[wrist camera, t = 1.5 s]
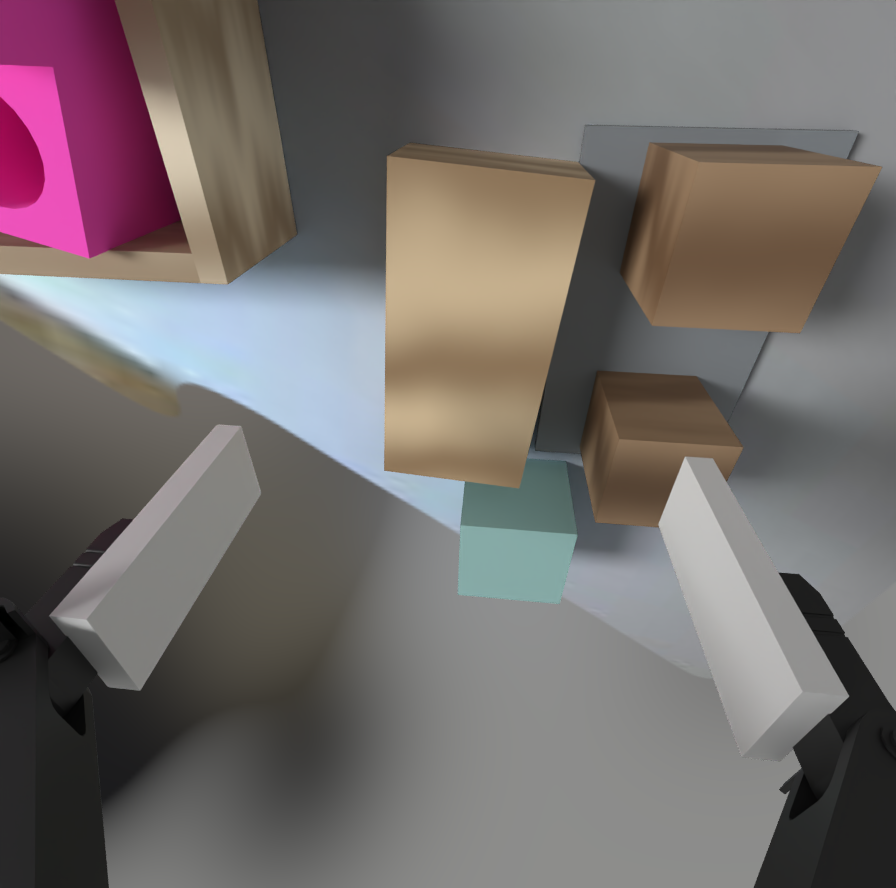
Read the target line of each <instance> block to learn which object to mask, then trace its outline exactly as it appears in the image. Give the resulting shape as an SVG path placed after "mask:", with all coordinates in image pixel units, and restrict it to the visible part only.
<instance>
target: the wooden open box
mask: <svg viewBox="0 0 896 888" xmlns="http://www.w3.org/2000/svg"><path fill="white" fill-rule="evenodd" d="M115 3H116V6H117V10H118V13H119V16H120V20H121V23H122V26H123V29H124V33H125V36H126V39H127V43H128V46H129V49H130V52H131V56H132V59H133V62H134V66H135V69H136V72H137V75H138V79H139V82H140V85H141V89H142V92H143V95H144V98H145V102H146V105H147V108H148V111H149V115H150V118H151V121H152V125H153V128H154V131H155V134H156V138H157V141H158V144H159V148H160V151H161V154H162V157H163V161H164V164H165V167H166V171H167V174H168V177H169V180H170V184H171V187H172V190H173V194H174V197H175V200H176V203H177V207H178V210H179V213H180V217H181V220H180V221H177V222H175V223H172V224H170V225H168V226H165V227H163V228H160V229H158V230H156V231H153V232H151V233H148V234H146V235H144V236H141V237H139V238H136V239H134V240H131V241H129V242H127V243H124V244H122V245H119V246H117V247H115V248H112V249H110V250H108V251H107V252H104V253H102V254H99V255H97V256H95V257H92V258H90V259H89V258H86V257H82V256H79V255H76V254H72V253H69V252H66V251H62V250H59V249H56V248H52V247H49V246H46V245H42V244H39V243H36V242H32V241H29V240H26V239H22V238H19V237H16V236H12V235H9V234H5V233H2V232H0V274H13V275H35V276H57V277H79V278H100V279H122V280H144V281H165V282H187V283H209V284H229V283H231V282H232V281H233V280H235V279H236V278H238V277H239V276H240V275H242V274H243V273H245V272H246V271H247V270H249V269H250V268H252V267H253V266H254V265H256V264H257V263H258V262H260V261H261V260H263V259H264V258H265V257H267V256H268V255H270V254H271V253H272V252H274V251H275V250H277V249H278V248H279V247H281V246H282V245H284V244H285V243H286V242H288V241H289V240H291V239H292V238H293V237H295V236H296V235H297V230H296V224H295V218H294V213H293V207H292V201H291V195H290V189H289V183H288V177H287V171H286V166H285V160H284V154H283V148H282V142H281V136H280V130H279V124H278V119H277V113H276V107H275V101H274V95H273V89H272V83H271V78H270V72H269V66H268V60H267V54H266V48H265V42H264V36H263V31H262V25H261V19H260V13H259V7H258V1H257V0H115Z"/></svg>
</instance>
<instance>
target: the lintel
mask: <svg viewBox="0 0 896 888" xmlns="http://www.w3.org/2000/svg"><path fill="white" fill-rule="evenodd" d="M594 184H595V179H594V178H593V177H592V176H591V175H590V174H589V173H588V172H587V171H586V170H585V169H584V168H583V167H582V166H581V165H580V164H579V162H573V161H565V160H556V159H547V158H539V157H530V156H521V155H513V154H504V153H495V152H487V151H478V150H469V149H461V148H452V147H443V146H435V145H426V144H417V143H408V144H407V145H405V146H403V147H401V148H400V149H398V150H396V151H395V152H393V153H391V154H390V155H388V156H387V211H386V331H385V451H384V471H391V472H399V473H406V474H414V475H421V476H429V477H436V478H444V479H452V480H459V481H467V482H474V483H482V484H489V485H497V486H504V487H512V488H519V487H520V483H521V479H522V475H523V471H524V467H525V463H526V459H527V455H528V451H529V447H530V443H531V439H532V435H533V431H534V427H535V423H536V419H537V415H538V410H539V406H540V402H541V398H542V394H543V390H544V386H545V382H546V378H547V374H548V370H549V366H550V362H551V358H552V354H553V350H554V346H555V342H556V338H557V333H558V329H559V325H560V321H561V317H562V313H563V309H564V305H565V301H566V297H567V293H568V289H569V285H570V281H571V277H572V273H573V269H574V265H575V261H576V257H577V252H578V248H579V244H580V240H581V236H582V232H583V228H584V224H585V220H586V216H587V212H588V208H589V204H590V200H591V196H592V192H593V188H594Z"/></svg>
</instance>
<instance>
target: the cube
mask: <svg viewBox="0 0 896 888" xmlns="http://www.w3.org/2000/svg"><path fill="white" fill-rule="evenodd" d="M577 535H578V534H577V528H576V521H575V515H574V509H573V502H572V496H571V490H570V484H569V477H568V471H567V465H566V461H555V460H540V459H526V463H525V467H524V471H523V475H522V479H521V483H520V487H519V488H512V487H504V486H497V485H489V484H482V483H474V482H467V481H465V486H464V496H463V506H462V515H461V525H460V552H459V576H458V579H459V580H458V595H466V596H478V597H489V598H500V599H511V600H523V601H533V602H544V603H556V604H559V603H560V600H561V596H562V592H563V589H564V585H565V581H566V577H567V573H568V570H569V566H570V562H571V558H572V554H573V550H574V547H575V543H576V539H577Z"/></svg>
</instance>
